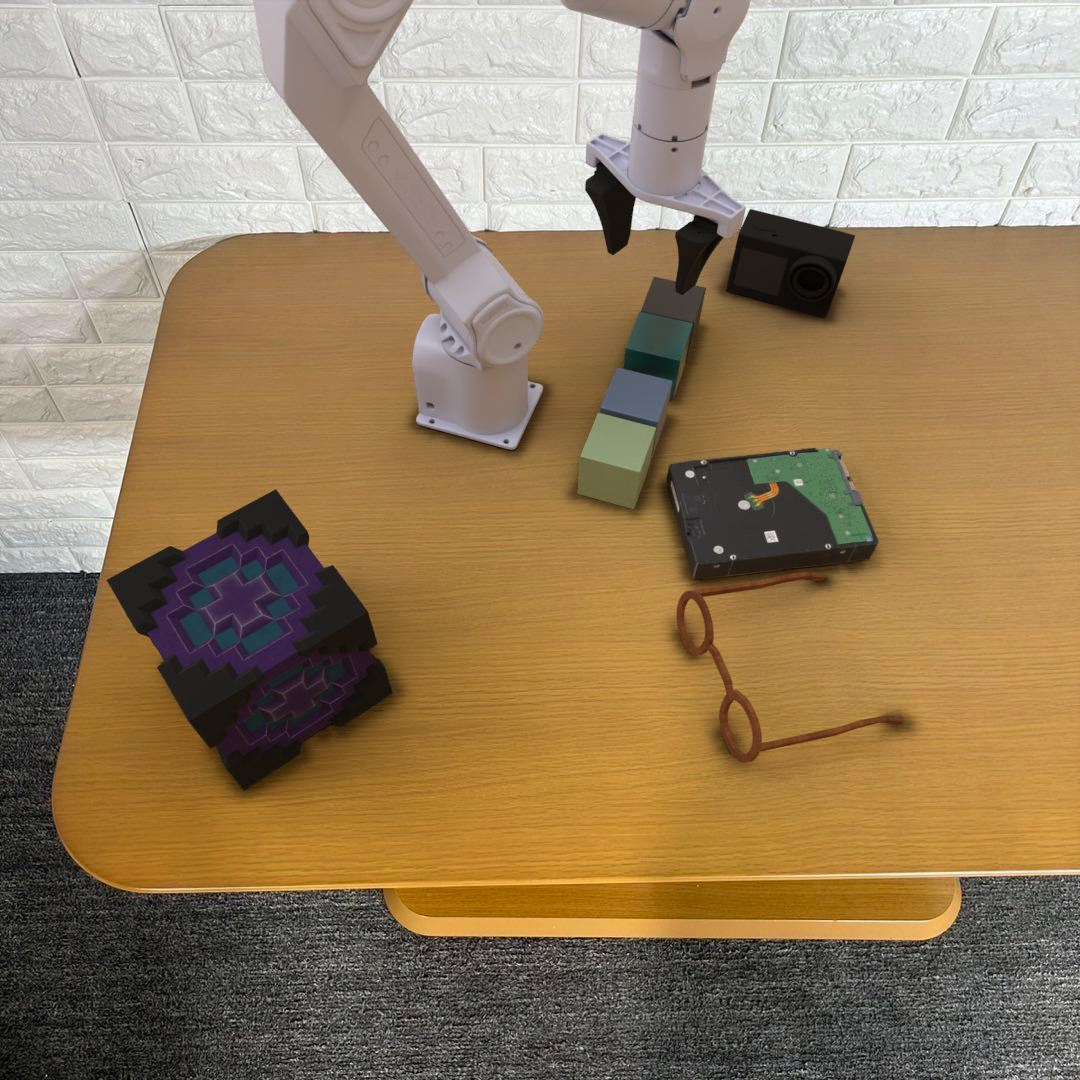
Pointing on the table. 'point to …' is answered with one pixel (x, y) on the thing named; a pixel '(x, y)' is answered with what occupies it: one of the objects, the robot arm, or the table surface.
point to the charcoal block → (675, 304)
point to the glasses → (730, 693)
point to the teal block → (658, 347)
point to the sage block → (615, 460)
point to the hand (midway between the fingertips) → (651, 268)
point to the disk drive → (769, 512)
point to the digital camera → (788, 262)
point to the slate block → (638, 399)
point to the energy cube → (255, 637)
